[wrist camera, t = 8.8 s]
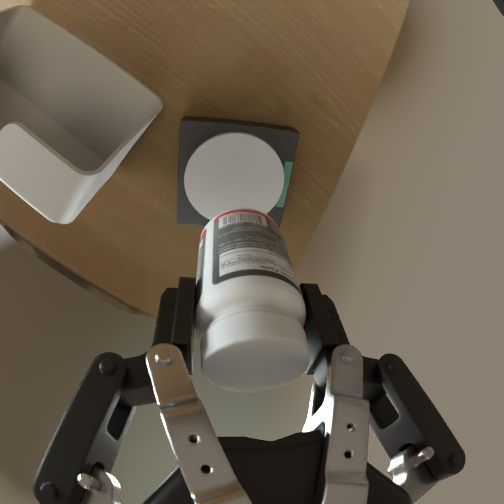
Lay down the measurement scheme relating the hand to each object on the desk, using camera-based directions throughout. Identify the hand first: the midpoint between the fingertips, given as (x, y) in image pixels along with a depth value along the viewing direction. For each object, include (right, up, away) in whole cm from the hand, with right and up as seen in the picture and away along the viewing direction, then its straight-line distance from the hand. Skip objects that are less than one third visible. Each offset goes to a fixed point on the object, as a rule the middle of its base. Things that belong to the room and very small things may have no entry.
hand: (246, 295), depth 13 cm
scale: (-2, +10, +16) cm, 19 cm away
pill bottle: (0, +3, +4) cm, 5 cm away
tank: (-22, +18, +8) cm, 30 cm away
